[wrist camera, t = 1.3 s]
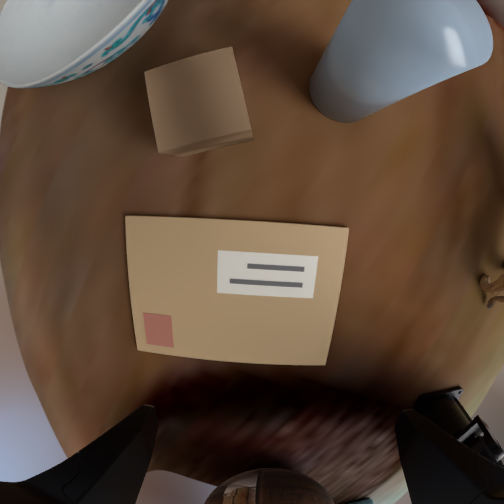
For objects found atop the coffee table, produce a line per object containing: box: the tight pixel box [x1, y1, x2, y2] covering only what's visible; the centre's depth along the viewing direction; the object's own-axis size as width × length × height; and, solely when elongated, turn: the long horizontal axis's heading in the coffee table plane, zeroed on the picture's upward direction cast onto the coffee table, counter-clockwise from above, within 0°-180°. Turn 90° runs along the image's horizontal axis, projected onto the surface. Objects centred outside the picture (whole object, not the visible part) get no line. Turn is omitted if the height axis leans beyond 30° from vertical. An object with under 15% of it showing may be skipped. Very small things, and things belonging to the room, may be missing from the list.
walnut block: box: [144, 47, 254, 157], centre depth 16 cm, size 5×5×5 cm
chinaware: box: [0, 0, 168, 88], centre depth 12 cm, size 15×15×8 cm
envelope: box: [125, 215, 349, 365], centre depth 21 cm, size 16×12×1 cm
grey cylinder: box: [309, 0, 493, 123], centre depth 11 cm, size 5×5×13 cm
